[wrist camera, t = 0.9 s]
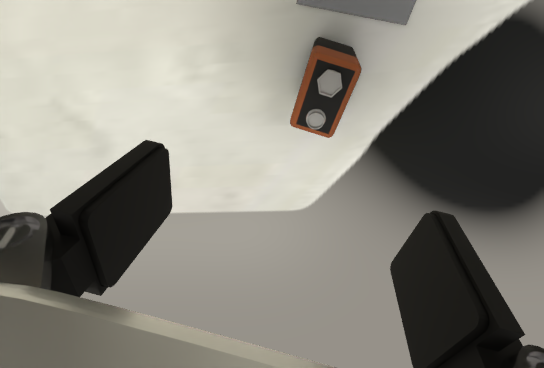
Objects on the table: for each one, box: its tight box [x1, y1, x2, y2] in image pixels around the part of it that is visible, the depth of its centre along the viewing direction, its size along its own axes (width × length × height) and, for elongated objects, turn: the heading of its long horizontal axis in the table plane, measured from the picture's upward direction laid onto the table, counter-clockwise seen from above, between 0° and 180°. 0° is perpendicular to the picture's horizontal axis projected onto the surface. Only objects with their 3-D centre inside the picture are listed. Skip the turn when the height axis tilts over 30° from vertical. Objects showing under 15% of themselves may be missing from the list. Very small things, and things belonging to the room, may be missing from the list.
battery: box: [290, 37, 361, 138], centre depth 26 cm, size 4×7×10 cm, turn 166°
